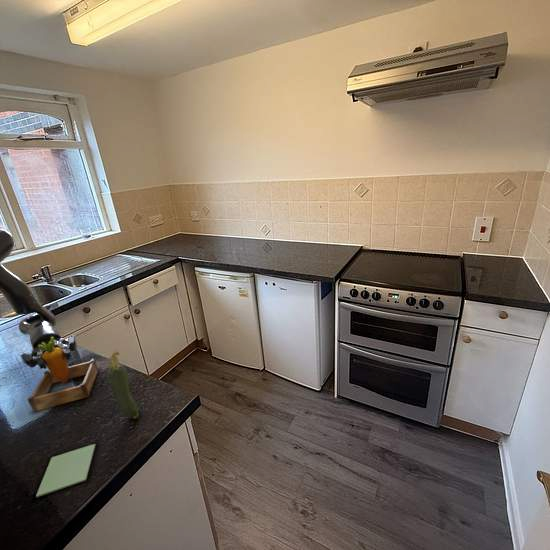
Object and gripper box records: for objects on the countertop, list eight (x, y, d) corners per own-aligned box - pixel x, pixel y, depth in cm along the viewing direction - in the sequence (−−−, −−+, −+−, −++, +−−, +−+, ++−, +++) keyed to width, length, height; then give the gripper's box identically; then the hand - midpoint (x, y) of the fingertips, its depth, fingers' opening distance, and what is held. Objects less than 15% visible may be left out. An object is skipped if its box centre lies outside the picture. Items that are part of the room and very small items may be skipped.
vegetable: (122, 426, 75) (97, 361, 67) (123, 414, 78) (99, 351, 71) (141, 419, 76) (119, 354, 69) (141, 408, 80) (120, 345, 73)
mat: (36, 497, 60) (35, 496, 60) (52, 458, 68) (51, 457, 68) (86, 480, 62) (85, 479, 62) (95, 444, 70) (95, 443, 70)
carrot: (54, 390, 86) (34, 347, 80) (55, 381, 90) (36, 339, 84) (74, 383, 88) (56, 340, 82) (74, 374, 92) (57, 332, 86)
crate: (33, 412, 82) (27, 399, 81) (50, 382, 94) (45, 371, 92) (89, 396, 86) (84, 384, 84) (98, 369, 97) (94, 358, 96)
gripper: (12, 339, 89) (18, 362, 78) (67, 320, 98) (80, 338, 87) (22, 360, 92) (30, 385, 80) (75, 339, 101) (88, 359, 90)
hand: (56, 361), depth 84 cm, fingers closed on carrot, 5 cm apart
